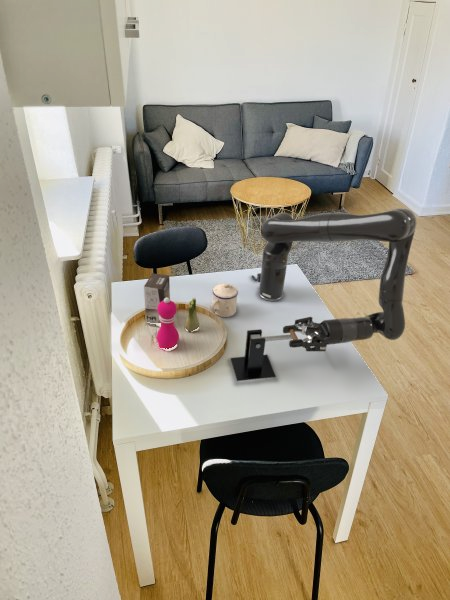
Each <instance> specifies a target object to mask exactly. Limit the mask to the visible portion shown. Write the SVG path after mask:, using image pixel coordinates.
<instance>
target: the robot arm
mask: <svg viewBox="0 0 450 600" xmlns="http://www.w3.org/2000/svg"><path fill="white" fill-rule="evenodd" d="M416 229H417V217H416V215H415V213H414V212H413V211H412V210H410V209H409V208H406V207H405V208H404V207H399V208H395V209H391V210H387V211H383V212H378V213H370V214H353V213H348V212H323V213H322V212H321V213H316V214H313V215H309V216H306V217H302V218H297V219H294V218H293V216H291V215H290V214H289V213H287V212H278V213H276V214H275V215H272V216H271V217H269V218H267V219H266V220H265V221H264V222H263V223H262V225H261V227H260V235H261V236H262V238H263V239H264V241H266V242H267V243H266V244H265V246H264V247H263V249H262V250H263V252H262V261H261V270H260V273H257V274H256V278H255V276H254V275H251V278H252V279H253V281H254V282H258V283H259V286H258V287H259V288H258V296H259V297H260V298H261V299H263V300H265V301H268V302H276V301H280V300H281V299H282V298H283V296H284V288H285V282H286V280H285V279H286V273H287V267H288V260H289V254H290V253H291V250H292V248H293V243H294V242H313V243H314V242H318V243H319V242H322V243H339V242H351V241H364V240H365V241H375V242H376V241H377V242H383V243H384V242H386V243H388V249H387V250H388V251H387V257H386V260H385V264H384V265H383V266H384V267H383V270H382V273H381V276H380V280H379V290H378V305H379V307H380V308H381V309H382V311H377V312H374V313H371V314H368V315H365V316H362V317H361V316H360V317H351V318H350V317H348V318H347V317H344V318H343V317H342V318H334V319H324V320H323V321H321V322H314V320H313V317H312V316H307V317H303V318H298V319H295V320H294V324H290V325H284V326H283V327H282V333H283V334H290V332H289V330H290V329H293V330H294V332H295V333H299V334H301V335H304V336H306V337H304V338H303V339H301V338H298V339H297V340H293V339H289V340H288V341H289V342H288V346H289V348H294V349H295V348H303V349H305V351H306V352H326V351H327V347H328V345H330V346H331V345H338V344H346V343H351V342H356V341H365V340H369V339H371V338H372V337H373V336H374V334H380V335H381V336H383V337H384V338H385V339H387V340H389V341H396V340H398V339H400V338H401V337H402V335H403V334H404V332H405V329H406V317H405V310H404V306H403V301H404V293H405V281H406V274H407V265H408V260H409V255H410V251H411V247H412V243H413V240H414V236H415V232H416Z"/></svg>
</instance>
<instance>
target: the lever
mask: <svg viewBox="0 0 450 600" xmlns="http://www.w3.org/2000/svg"><path fill="white" fill-rule="evenodd" d="M289 332H290V333H289V334H282V335H272V336H271V335H268V336H267V335H266V336H260V334H254V335H251V336H250V339H258V338H265V342H274V341H286V340H287V341H289V340H297V339H299V338H298V336H297V334H296V332H294V330H293V329H290V330H289Z"/></svg>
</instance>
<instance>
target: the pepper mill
mask: <svg viewBox="0 0 450 600" xmlns="http://www.w3.org/2000/svg"><path fill="white" fill-rule="evenodd" d="M177 311H178V307H177V304H176V303H175V302H174V301H173V300H171V298H170V299H169V298H167V297H166V298H165V299H164V300H163V301H161V302H160V303H159V304H158V307H157V312H158V314H159V320H160V321H161V327H159V329H158V330H157V333H156V342H157V344H158V345H159V346H158V348H159V347H160V348H165V349H166V348H167V349H169V348H172V347H174V346H175V345H176V344H177V343H179V341H180V334H179V331H178V329H177V328H176V326H175V321H176V314H177ZM160 348H159V349H160Z"/></svg>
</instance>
